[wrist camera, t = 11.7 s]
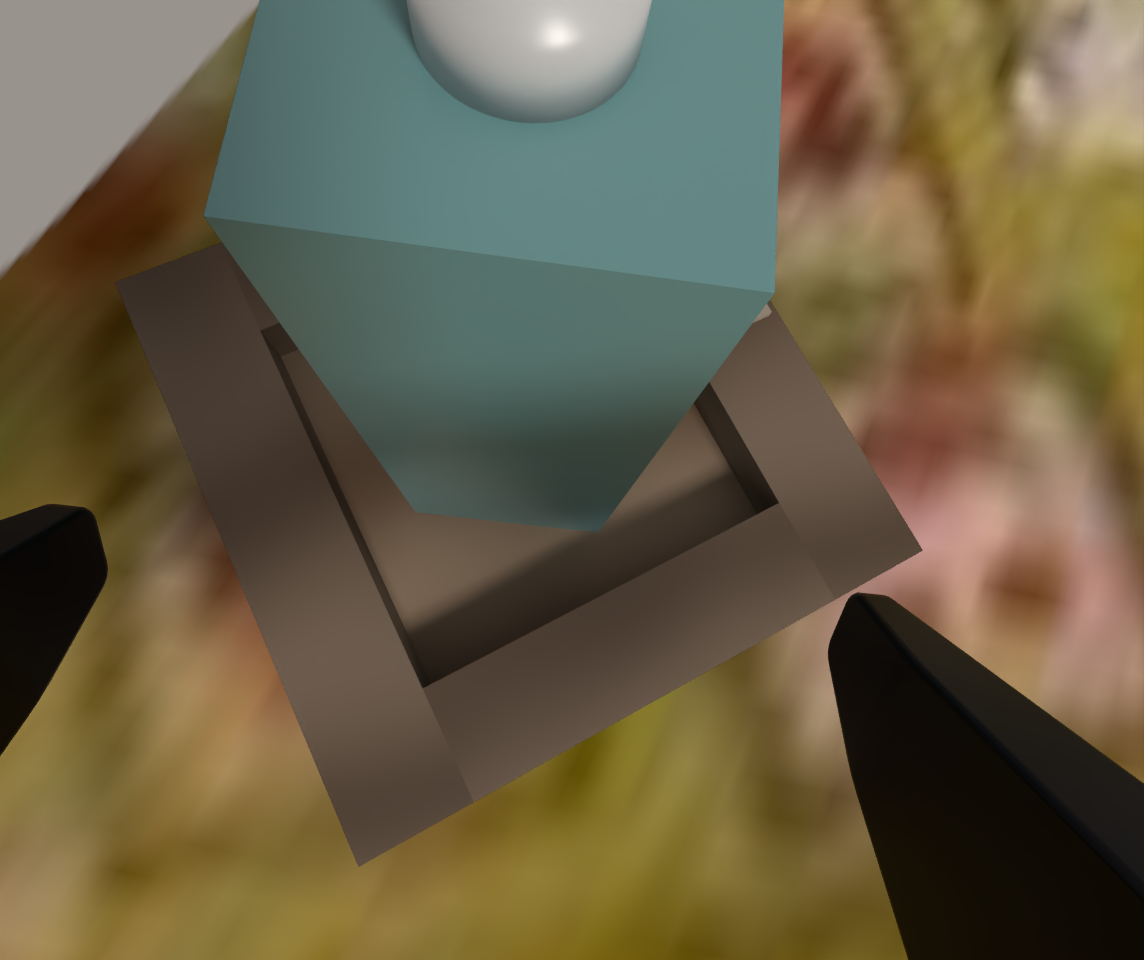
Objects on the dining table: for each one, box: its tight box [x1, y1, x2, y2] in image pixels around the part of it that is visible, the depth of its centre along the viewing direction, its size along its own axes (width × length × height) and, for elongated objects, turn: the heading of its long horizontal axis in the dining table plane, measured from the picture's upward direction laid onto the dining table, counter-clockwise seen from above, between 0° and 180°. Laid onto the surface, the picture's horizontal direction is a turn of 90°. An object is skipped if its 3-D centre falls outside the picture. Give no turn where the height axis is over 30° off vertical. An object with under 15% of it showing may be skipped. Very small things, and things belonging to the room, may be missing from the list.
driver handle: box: [204, 0, 784, 533], centre depth 11 cm, size 4×4×13 cm
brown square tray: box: [115, 242, 923, 867], centre depth 17 cm, size 14×14×3 cm
